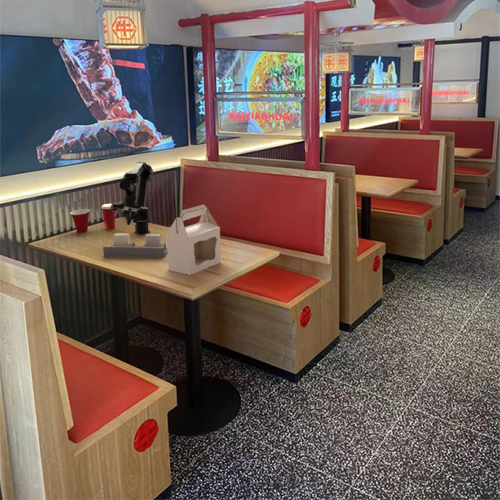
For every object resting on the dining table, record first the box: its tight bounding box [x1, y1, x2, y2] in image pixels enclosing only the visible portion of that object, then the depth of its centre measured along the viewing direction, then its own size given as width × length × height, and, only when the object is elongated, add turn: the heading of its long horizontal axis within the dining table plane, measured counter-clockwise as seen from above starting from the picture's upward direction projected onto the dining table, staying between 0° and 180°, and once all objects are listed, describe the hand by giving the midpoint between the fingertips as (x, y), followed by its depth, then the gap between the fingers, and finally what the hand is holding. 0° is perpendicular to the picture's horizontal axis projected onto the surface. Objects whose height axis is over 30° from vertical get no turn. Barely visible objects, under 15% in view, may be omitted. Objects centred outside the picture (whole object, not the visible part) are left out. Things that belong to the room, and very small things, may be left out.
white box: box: [144, 233, 162, 247], centre depth 272 cm, size 3×7×8 cm, turn 85°
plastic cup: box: [69, 209, 90, 234], centre depth 310 cm, size 11×11×12 cm
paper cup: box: [101, 203, 116, 231], centre depth 315 cm, size 8×8×14 cm
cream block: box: [113, 233, 131, 246], centre depth 274 cm, size 3×7×8 cm, turn 85°
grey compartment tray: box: [102, 241, 168, 259], centre depth 272 cm, size 13×30×5 cm, turn 85°
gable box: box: [166, 204, 222, 276], centre depth 249 cm, size 22×13×28 cm, turn 144°
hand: (128, 225), depth 283 cm, fingers closed
